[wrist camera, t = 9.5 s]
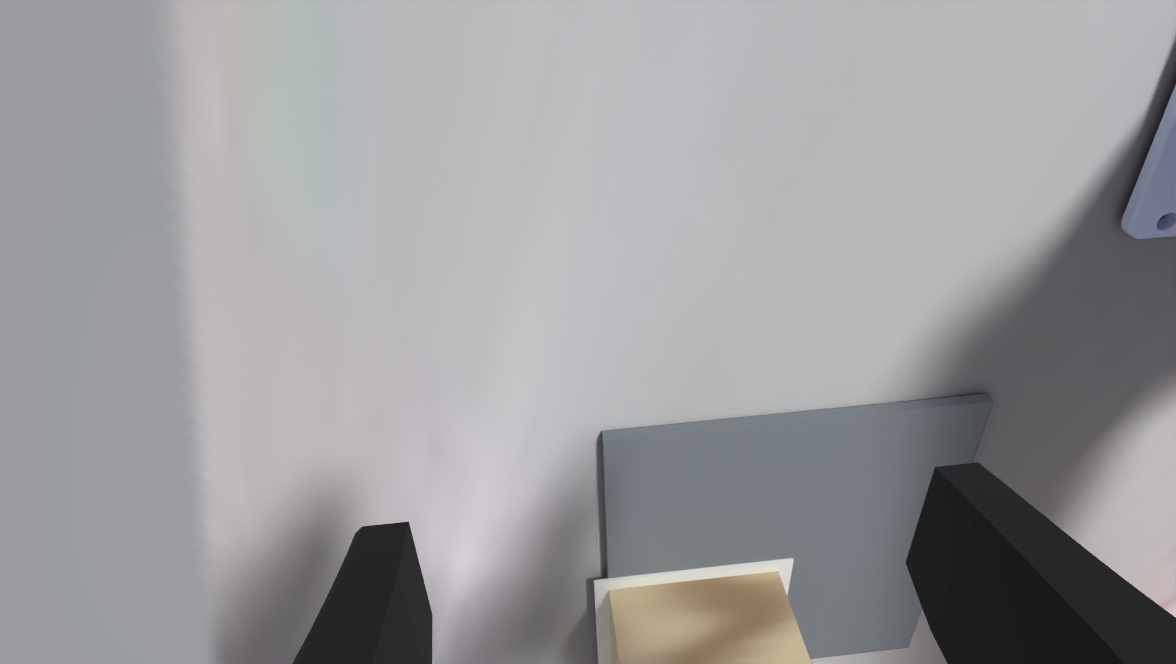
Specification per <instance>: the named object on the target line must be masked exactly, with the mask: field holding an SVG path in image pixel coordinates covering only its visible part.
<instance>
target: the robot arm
mask: <svg viewBox="0 0 1176 664" xmlns="http://www.w3.org/2000/svg"><path fill="white" fill-rule="evenodd" d="M1165 214H1166V215H1165ZM1164 215H1165V217H1164V218H1163V219H1162V220H1160V221H1159V219H1160V218H1161V217H1162V216H1164ZM1158 221H1159V222H1158ZM1121 227H1122V230H1123V231H1125V232H1126V233H1127V234H1129V235H1130V236H1132V237H1133V238H1134V239H1148V238H1160V237H1171V236H1176V85H1175V87H1174V90H1173V92H1172V95H1171V97H1170V100H1169V102H1168V105H1167V107H1166V110H1165V112H1164V115H1163V117H1162V120H1161V122H1160V125H1159V127H1158V130H1157V132H1156V135H1155V137H1154V140H1153V143H1152V145H1151V148H1150V150H1149V153H1148V155H1147V158H1146V160H1145V163H1144V165H1143V168H1142V170H1141V173H1140V175H1139V178H1138V180H1137V183H1136V185H1135V188H1134V190H1133V193H1132V195H1131V198H1130V200H1129V203H1128V205H1127V208H1126V210H1125V213H1124V215H1123V218H1122V222H1121ZM905 563H906V565H907V568H908V571H909V574H910V576H911V579H912V582H913V585H914V587H915V590H916V593H917V596H918V598H919V601H920V604H921V606H922V609H923V611H924V614H925V616H926V619H927V621H928V624H929V626H930V629H931V631H932V634H933V636H934V638H935V640H936V642H937V644H938V645H939V647H940V649H941V651H942V653H943V655H944V657H945V659H946V661H947V663H948V664H1176V618H1175V617H1174V616H1173V615H1171V614H1170V613H1168V612H1167V611H1166V610H1164V609H1163V608H1162V607H1160V606H1159V605H1158V604H1156V603H1155V602H1154V601H1152V600H1151V599H1150V598H1148V597H1147V596H1146V595H1144V594H1143V593H1142V592H1140V591H1139V590H1138V589H1136V588H1135V587H1134V586H1132V585H1131V584H1130V583H1128V582H1127V581H1126V580H1125V579H1123V578H1122V577H1121V576H1119V575H1118V574H1117V573H1116V572H1114V571H1113V570H1112V569H1110V568H1109V567H1108V566H1107V565H1105V564H1104V563H1103V562H1101V561H1100V560H1099V559H1098V558H1096V557H1095V556H1094V555H1092V554H1091V553H1090V552H1089V551H1087V550H1086V549H1085V548H1084V547H1082V546H1081V545H1080V544H1079V543H1077V542H1076V541H1075V540H1074V539H1072V538H1071V537H1070V536H1069V535H1067V534H1066V533H1065V532H1064V531H1062V530H1061V529H1060V528H1059V527H1057V526H1056V525H1055V524H1054V523H1052V522H1051V521H1050V520H1049V519H1048V518H1046V517H1045V516H1044V515H1043V514H1041V513H1040V512H1039V511H1038V510H1036V509H1035V508H1034V507H1033V506H1032V505H1030V504H1029V503H1028V502H1027V501H1025V500H1024V499H1023V498H1022V497H1020V496H1019V495H1018V494H1017V493H1015V492H1014V491H1013V490H1012V489H1011V488H1009V487H1008V486H1007V485H1006V484H1004V483H1003V482H1002V481H1001V480H999V479H998V478H997V477H996V476H994V475H993V474H992V473H990V472H989V471H988V470H987V469H985V468H984V467H983V466H981V465H980V464H979V463H978V462H977V463H968V464H958V465H949V466H939V467H935V468H934V471H933V475H932V478H931V481H930V484H929V488H928V491H927V494H926V497H925V501H924V504H923V507H922V510H921V514H920V517H919V520H918V523H917V527H916V530H915V533H914V536H913V540H912V543H911V546H910V549H909V553H908V556H907V559H906V562H905ZM293 664H432V612H431V608H430V604H429V600H428V596H427V592H426V588H425V584H424V580H423V576H422V572H421V569H420V565H419V561H418V557H417V553H416V549H415V545H414V541H413V537H412V533H411V529H410V525H409V522H402V523H393V524H383V525H373V526H364V527H362V528H360V529H359V530H358V531H357V532H356V533H355V536H354V538H353V540H352V543H351V545H350V548H349V550H348V552H347V555H346V557H345V559H344V561H343V564H342V566H341V568H340V570H339V573H338V575H337V577H336V579H335V581H334V583H333V586H332V588H331V590H330V592H329V594H328V596H327V598H326V600H325V602H324V604H323V606H322V608H321V610H320V612H319V614H318V616H317V618H316V620H315V622H314V624H313V626H312V628H311V630H310V632H309V634H308V636H307V638H306V640H305V641H304V643H303V645H302V647H301V649H300V651H299V653H298V654H297V656H296V658H295V660H294V662H293Z"/></svg>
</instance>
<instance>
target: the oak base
mask: <svg viewBox="0 0 1176 664" xmlns="http://www.w3.org/2000/svg"><path fill="white" fill-rule="evenodd" d="M609 607H610V636H611V664H812V663H811V660H810V658H809V655H808V652H807V649H806V647H805V644H804V641H803V638H802V635H801V633H800V630H799V627H798V624H797V622H796V619H795V616H794V613H793V611H792V608H791V605H790V602H789V600H788V597H787V594H786V591H785V588H784V586H783V583H782V580H781V577H780V575H779V572H778V571H774V572H765V573H756V574H747V575H738V576H729V577H720V578H711V579H702V580H693V581H684V582H675V583H666V584H657V585H648V586H639V587H630V588H621V589H612V590H609Z"/></svg>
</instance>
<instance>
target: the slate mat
mask: <svg viewBox="0 0 1176 664" xmlns="http://www.w3.org/2000/svg"><path fill="white" fill-rule="evenodd" d="M992 403H993V401H992V400H991V399H990V397H989V396H988V395H987V394H986V393H984V394H974V395H964V396H954V397H944V398H934V399H924V400H914V401H903V402H893V403H883V404H873V405H863V406H853V407H843V408H833V409H822V410H812V411H802V412H792V413H782V414H772V415H762V416H752V417H741V418H731V419H721V420H711V421H701V422H691V423H681V424H670V425H660V426H650V427H640V428H630V429H620V430H610V431H602V451H603V479H604V506H605V533H606V561H607V579H598V580H594V594H595V613H596V632H597V651H598V664H611V636H610V607H609V590H612V589H621V588H630V587H639V586H648V585H657V584H666V583H675V582H684V581H693V580H702V579H711V578H720V577H729V576H738V575H747V574H756V573H765V572H774V571H778V572H779V575H780V577H781V580H782V583H783V586H784V588H785V591H786V594H787V597H788V600H789V602H790V605H791V608H792V611H793V613H794V616H795V619H796V622H797V624H798V627H799V630H800V633H801V635H802V638H803V641H804V644H805V647H806V649H807V652H808V655H809V658H810V659H815V658H823V657H832V656H840V655H849V654H857V653H865V652H874V651H882V650H891V649H899V648H908V647H909V644H910V641H911V638H912V635H913V632H914V629H915V627H916V624H917V621H918V618H919V615H920V612H921V609H922V606H921V604H920V601H919V598H918V596H917V593H916V590H915V587H914V585H913V582H912V579H911V576H910V574H909V571H908V568H907V565H906V563H905V562H906V559H907V556H908V553H909V549H910V546H911V543H912V540H913V536H914V533H915V530H916V527H917V523H918V520H919V517H920V514H921V510H922V507H923V504H924V501H925V497H926V494H927V491H928V488H929V484H930V481H931V478H932V475H933V471H934V468H935V467H939V466H949V465H958V464H968V463H972V461H973V458H974V455H975V452H976V450H977V447H978V444H979V441H980V438H981V435H982V432H983V429H984V426H985V423H986V421H987V418H988V415H989V412H990V409H991V406H992Z"/></svg>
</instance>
